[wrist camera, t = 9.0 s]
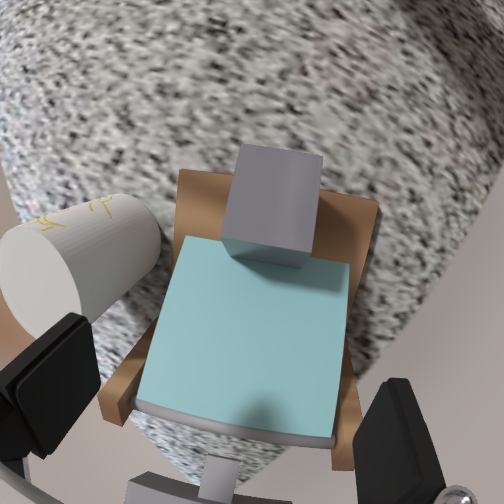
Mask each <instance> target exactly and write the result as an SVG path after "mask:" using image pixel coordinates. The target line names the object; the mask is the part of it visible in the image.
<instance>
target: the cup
mask: <svg viewBox="0 0 504 504" xmlns="http://www.w3.org/2000/svg"><path fill="white" fill-rule="evenodd" d="M160 251H161V234H160V230H159V226H158V224H157V221H156V219H155V217H154V215H153V214H152V212H151V211H150V210H149V208H148V207H147V206H146V205H145V204H144V203H142V202H141V201H140V200H138V199H136V198H135V197H132V196H130V195H126V194H113V195H109V196H106V197H102V198H99V199H96V200H92V201H89V202H86V203H83V204H79V205H76V206H73V207H70V208H67V209H64V210H61V211H58V212H55V213H52V214H49V215H46V216H43V217H41V218H38V219H35V220H32V221H29V222H27V223H24V224H21V225H19V226H16V227H13V228H11V229H10V230H8V231H7V232H6V233H5V234H4V236H3V237H2V239H1V241H0V287H1V290H2V293H3V296H4V298H5V300H6V303H7V305H8V307H9V308H10V310H11V312H12V313H13V315H14V316H15V318H16V319H17V321H18V322H19V323H20V324H21V325H22V327H23V328H24V329H25V330H26V331H27V332H28V333H30V334H31V335H32V336H33V337H34V338H36V339H38V338H39V337H40V336H41V335H43V334H44V333H45V332H46V331H47V330H49V329H50V328H51V327H52V326H53V325H55V324H56V323H57V322H58V321H59V320H61V319H62V318H63V317H64V316H66V315H67V314H68V313H70V312H74V313H77V314H80V315H83V316H85V317H87V319H88V322H89V323H90V324H92V323H93V322H94V321H95V320H97V319H98V318H99V317H100V316H101V315H102V314H103V313H104V312H105V311H106V310H107V309H108V308H110V307H111V306H112V305H113V304H114V303H115V302H116V301H117V300H118V299H119V298H121V297H122V296H123V295H124V294H125V293H126V292H127V291H128V290H129V289H131V288H132V287H133V286H134V285H135V284H136V283H137V282H138V281H140V280H141V279H142V278H143V277H144V276H145V275H146V274H147V273H149V272H150V271H151V270H152V269H153V267H154V266H155V265H156V263H157V261H158V258H159V256H160Z"/></svg>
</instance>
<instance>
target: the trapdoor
mask: <svg viewBox="0 0 504 504" xmlns="http://www.w3.org/2000/svg"><path fill="white" fill-rule="evenodd" d="M348 284H349V264H347V263H341V262H336V261H330V260H324V259H319V258H313V257H308V259H307V260H306V262H305V263H304V265H303V267H302V268H301V269H298V268H292V267H286V266H280V265H275V264H269V263H263V262H258V261H252V260H246V259H241V258H235V257H230V256H229V255H228V253H227V251H226V249H225V247H224V245H223V243H222V241H216V240H210V239H204V238H199V237H193V236H187V235H186V237H185V240H184V242H183V245H182V248H181V251H180V254H179V257H178V260H177V263H176V266H175V269H174V272H173V275H172V278H171V281H170V284H169V287H168V290H167V293H166V296H165V299H164V303H163V306H162V309H161V312H160V315H159V319H158V322H157V325H156V329H155V332H154V335H153V339H152V342H151V346H150V349H149V353H148V356H147V360H146V363H145V367H144V371H143V374H142V378H141V382H140V386H139V390H138V393H137V395H133V397H132V399H131V403H130V407H131V409H134V410H137V411H140V412H143V413H146V414H149V415H152V416H155V417H159V418H162V419H165V420H169V421H172V422H175V423H179V424H183V425H186V426H190V427H194V428H198V429H202V430H206V431H211V432H215V433H219V434H224V435H229V436H234V437H239V438H244V439H250V440H256V441H262V442H268V443H275V444H282V445H290V446H299V447H309V448H320V449H333V447H334V444H335V435H334V434H332V428H333V422H334V416H335V410H336V403H337V396H338V389H339V382H340V374H341V366H342V357H343V347H344V337H345V326H346V314H347V301H348ZM240 463H241V460H238V459H233V458H228V457H223V456H218V455H214V454H209V453H208V454H207V457H206V462H205V466H204V471H203V475H202V480H201V484H200V486H196V485H192V484H189V483H185V482H181V481H178V480H174V479H171V478H168V477H164V476H161V475H158V474H155V473H152V472H149V471H148V472H146V473H144V474H141V475H140V476H137V477H135V478H133V479H131V480H129V481H128V486H127V491H126V497H125V502H124V504H292V502H291V501H282V500H273V499H264V498H257V497H251V496H244V495H238V494H234V489H235V485H236V481H237V476H238V472H239V467H240Z"/></svg>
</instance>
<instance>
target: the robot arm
mask: <svg viewBox="0 0 504 504" xmlns="http://www.w3.org/2000/svg"><path fill="white" fill-rule="evenodd" d="M100 386H101V379H100V374H99V369H98V364H97V358H96V353H95V347H94V340H93V334H92V327H91V324H90V323H89V322H88V319H87V317H85V316H83V315H80V314H77V313H74V312H70V313H68V314H67V315H66V316H64V317H63V318H62V319H61V320H59V321H58V322H57V323H56V324H55V325H53V326H52V327H51V328H50V329H49V330H47V331H46V332H45V333H44V334H43V335H41V336H40V337H39V338H38V339H37V340H35V341H34V342H33V343H32V344H31V345H30V346H29V347H27V348H26V349H25V350H24V351H23V352H22V353H20V354H19V355H18V356H17V357H16V358H15V359H14V360H13V361H11V363H9V364H8V365H7V366H6V367H5V368H4V369H3V370H2V371H0V504H64V503H62V502H60V501H59V500H57V499H55V498H53V497H52V496H50V495H48V494H47V493H45V492H43V491H42V490H40V489H39V488H37V487H35V486H34V485H32V484H31V478H30V473H29V465H28V458H27V455H28V454H29V453H30V451H31V452H32V453H33V454H35V455H37V456H38V457H40V458H41V459H43V460H44V459H45V457H46V456H47V455H51V454H52V453H53V452H54V451H55V449H56V448H57V447H58V445H59V444H60V442H61V441H62V440H63V438H64V437H65V436H66V434H67V433H68V431H69V430H70V429H71V427H72V426H73V425H74V423H75V422H76V420H77V419H78V418H79V416H80V415H81V414H82V412H83V411H84V410H85V408H86V407H87V406H88V404H89V403H90V402H91V400H92V399H93V397H94V396H95V395H96V394H97V392H98V391H99V389H100ZM352 447H353V456H354V465H355V474H356V485H357V496H358V504H477V500H476V498H475V495H474V494H473V493H472V492H471V491H470V490H469V489H467V488H465V487H462V486H457V485H453V486H450V487H446V484H445V480H444V477H443V473H442V470H441V467H440V464H439V461H438V458H437V455H436V452H435V448H434V446H433V442H432V440H431V437H430V434H429V431H428V428H427V425H426V423H425V421H424V419H423V416H422V413H421V411H420V408H419V405H418V403H417V400H416V397H415V395H414V392H413V390H412V387H411V385H410V382H409V381H408V379H406V378H389V379H388V381H387V382H383V383H382V384H381V386H380V388H379V390H378V392H377V394H376V396H375V398H374V400H373V402H372V404H371V406H370V408H369V410H368V411H367V413H366V415H365V417H364V419H363V420H362V422H361V424H360V426H359V427H358V429H357V431H356V433H355V434H354V437H353V441H352Z"/></svg>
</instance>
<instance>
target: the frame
mask: <svg viewBox="0 0 504 504" xmlns="http://www.w3.org/2000/svg"><path fill="white" fill-rule="evenodd" d="M233 176H234V175H227V174H220V173H212V172H204V171H196V170H187V169H180V170H179V179H178V189H177V200H176V212H175V225H174V240H173V257H172V275H173V272H174V269H175V266H176V263H177V260H178V257H179V254H180V251H181V248H182V245H183V242H184V240H185V237H186V235H187V236H193V237H199V238H204V239H210V240H216V241H221V239H220V232H221V228H222V223H223V219H224V214H225V210H226V206H227V201H228V197H229V193H230V188H231V184H232V180H233ZM378 205H379V202H377V201H374V200H369V199H364V198H360V197H355V196H350V195H345V194H340V193H335V192H330V191H325V190H320V191H319V199H318V207H317V215H316V223H315V230H314V237H313V245H312V252H311V254H310V256H309V257H313V258H319V259H324V260H330V261H336V262H341V263H347V264H349V284H348V301H347V314H346V325H347V322H348V319H349V316H350V313H351V309H352V306H353V303H354V299H355V296H356V293H357V289H358V286H359V282H360V278H361V275H362V271H363V267H364V264H365V260H366V256H367V252H368V248H369V244H370V240H371V236H372V232H373V227H374V223H375V218H376V214H377V209H378ZM159 315H160V314H159ZM158 319H159V316H158V317H157V318H156V319H155V321H154V322H153V323H152V324H151V326H150V327H149V328H148V329H147V331H146V332H145V333H144V335H143V336H142V337H141V338H140V340H139V341H138V342H137V344H136V345H135V346H134V347H133V349H132V350H131V351H130V353H129V354H128V355H127V356H126V358H125V359H124V360H123V362H122V363H121V364H120V366H119V367H118V368H117V369H116V371H115V372H114V373H113V375H112V376H111V377H110V379H109V380H108V381H107V383H106V384H105V385H104V387H103V388H102V389H101V391H100V392H99V393H98V395H97V397H98V401H99V405H100V409H101V412H102V416H103V419H104V420H106V421H108V422H111V423H113V424H116V425H118V426H121V427H123V425H124V423H125V421H126V420H127V418H128V417H129V415H130V413H131V412H132V410H133V409H131V407H130V403H131V399H132V397H133V395H137V393H138V390H139V386H140V382H141V378H142V374H143V371H144V367H145V363H146V360H147V356H148V353H149V349H150V346H151V342H152V339H153V335H154V332H155V329H156V325H157V322H158ZM345 328H346V326H345ZM362 420H363V418H362V413H361V407H360V402H359V397H358V392H357V387H356V382H355V377H354V372H353V367H352V363H351V358H350V354H349V349H348V345H347V340H346V336H345V337H344V347H343V357H342V366H341V374H340V382H339V389H338V396H337V403H336V410H335V416H334V422H333V428H332V434H334V435H335V444H334V447H333V449H331V456H332V470H335V471H336V470H338V471H353V470H354V469H355V465H354V456H353V447H352V441H353V437H354V434H355V433H356V431H357V429H358V427H359V426H360V424H361V422H362Z"/></svg>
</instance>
